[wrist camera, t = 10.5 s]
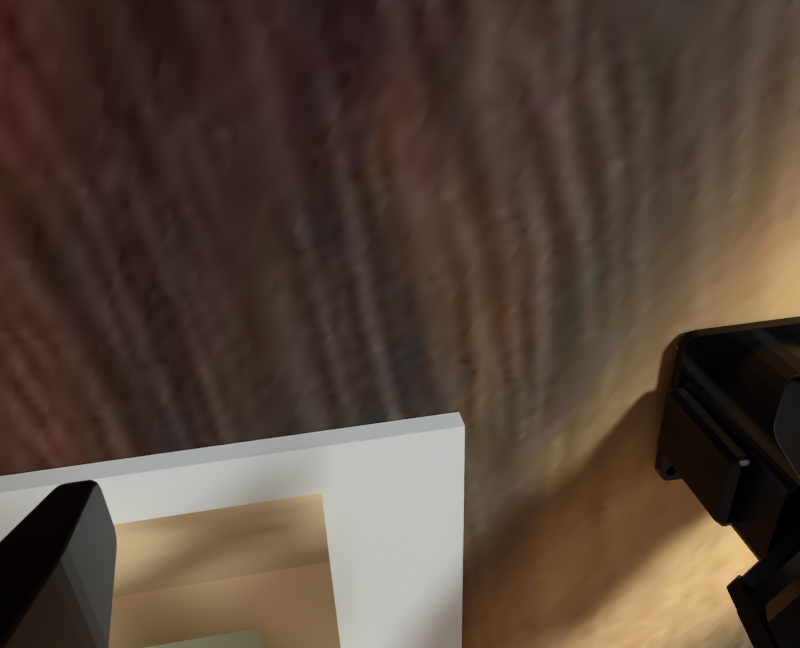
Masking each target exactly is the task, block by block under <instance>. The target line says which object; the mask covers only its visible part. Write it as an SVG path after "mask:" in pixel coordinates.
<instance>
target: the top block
mask: <svg viewBox="0 0 800 648" xmlns="http://www.w3.org/2000/svg"><path fill="white" fill-rule="evenodd" d="M145 648H264V645H263V640H262V635H261V630H260V628H254V629H249V630H243V631H237V632H231V633H226V634H220V635H214V636H208V637H203V638H197V639H191V640H185V641H180V642H174V643H168V644H162V645H157V646H151V647H145Z"/></svg>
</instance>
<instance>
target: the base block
mask: <svg viewBox="0 0 800 648" xmlns="http://www.w3.org/2000/svg"><path fill="white" fill-rule="evenodd" d="M114 527H115V531H116V538H117V552H116V564H115V576H114V588H113V600H112V612H111V625H110V637H109V648H145V647H151V646H157V645H162V644H168V643H174V642H180V641H185V640H191V639H197V638H203V637H208V636H214V635H220V634H226V633H231V632H237V631H243V630H249V629H254V628H260V630H261V635H262V640H263V645H264V648H341V645H340V637H339V629H338V621H337V613H336V605H335V597H334V589H333V580H332V572H331V564H330V556H329V548H328V540H327V532H326V524H325V516H324V508H323V500H322V493H318V494H312V495H305V496H298V497H292V498H285V499H279V500H272V501H266V502H259V503H252V504H246V505H239V506H233V507H226V508H220V509H213V510H206V511H200V512H193V513H187V514H180V515H174V516H167V517H160V518H154V519H147V520H141V521H134V522H128V523H121V524H114Z"/></svg>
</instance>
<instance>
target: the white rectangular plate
mask: <svg viewBox="0 0 800 648" xmlns="http://www.w3.org/2000/svg"><path fill="white" fill-rule="evenodd" d="M464 446H465V426H464V423H463V421H462V418H461V416H460V413H459V412H455V413H448V414H441V415H433V416H426V417H419V418H412V419H405V420H398V421H391V422H384V423H376V424H369V425H362V426H355V427H348V428H341V429H334V430H326V431H319V432H312V433H305V434H298V435H291V436H284V437H277V438H269V439H262V440H255V441H248V442H241V443H234V444H227V445H220V446H212V447H205V448H198V449H191V450H184V451H177V452H170V453H162V454H155V455H148V456H141V457H134V458H127V459H120V460H113V461H105V462H98V463H91V464H84V465H77V466H70V467H63V468H55V469H48V470H41V471H34V472H27V473H20V474H13V475H6V476H0V541H1V540H2V539H3V538H4V537H6V536H7V535H8V534H9V533H10V532H11V531H12V530H13V529H14V528H15V527H16V526H17V525H18V524H19V523H20V522H21V521H22V520H23V519H24V518H25V517H26V516H27V515H28V514H29V513H30V512H31V511H32V510H33V509H34V508H35V507H36V506H37V505H38V504H39V503H40V502H41V501H42V500H43V499H44V498H45V497H46V496H47V495H48V494H49V493H50V492H52V491H53V490H54V489H55V488H56V487H57V486H59V485H61V484H64V483H71V482H78V481H84V480H93V481H96V482H97V483H98V484H99V486H100V487H101V490H102V493H103V495H104V498H105V501H106V504H107V507H108V510H109V513H110V516H111V519H112V521H113V524H121V523H128V522H134V521H141V520H147V519H154V518H160V517H167V516H174V515H180V514H187V513H193V512H200V511H206V510H213V509H220V508H226V507H233V506H239V505H246V504H252V503H259V502H266V501H272V500H279V499H285V498H292V497H298V496H305V495H312V494H318V493H322V500H323V508H324V516H325V524H326V532H327V540H328V548H329V556H330V564H331V572H332V580H333V589H334V597H335V605H336V613H337V621H338V629H339V637H340V645H341V648H462V589H463V518H464Z"/></svg>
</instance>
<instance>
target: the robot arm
mask: <svg viewBox="0 0 800 648" xmlns="http://www.w3.org/2000/svg"><path fill="white" fill-rule="evenodd" d="M698 342H699V343H698ZM696 343H698V345H697V346H696V347H694V348H692V347H693V346H694V345H695V344H696ZM670 466H671V467H670ZM655 470H656V471H657V472H658V474H659V475H660V476H661V478H662V479H664V480H676V479H683V480H684V481H685V483H686V484H687V485H688V487H689V488H690V489H691V490H692V492H693V493H694V494H695V496H696V497H697V498H698V500H699V501H700V502H701V503H702V505H703V506H704V507H705V509H706V510H707V511H708V513H709V514H710V515H711V516H712V518H713V519H714V520H715V521H716V522H717V523H718V524H720V525H721V526H728V525H731V526H732V527H733V529H734V530H735V531H736V532H737V534H738V535H739V536H740V537H741V539H742V540H743V541H744V543H745V544H746V545H747V546H748V548H749V549H750V550H751V551H752V553H753V554H754V555H755V556H756V558H757V559H758V560H759V561H758V562H757V563H756V564H755V565H754V566H753V567H752V568H750V569H749V570H748V571H747V572H746V573H745V574H744V575H743V576H741V575H738V576H737V577H736V578H735V579H734V580H733V581H732V582H731V583H730V584H729V585H728V586H727V590H728V592H729V594H730V596H731V598H732V600H733V603H734V605H735V607H736V609H737V613H738V616H739V618H740V620H741V622H742V624H743V626H744V628H745V630H746V632H747V634H748V637H749V639H750V641H751V643H752V645H753V647H754V648H800V317H792V318H784V319H776V320H769V321H761V322H753V323H746V324H738V325H730V326H723V327H715V328H707V329H700V330H693V331H690V332H688V333H687V334H685V335H684V336H683V337H682V338H681V340H680V342H679V345H678V350H677V355H676V360H675V365H674V370H673V376H672V381H671V386H670V390H669V392H668V394H667V398H666V403H665V409H664V414H663V419H662V424H661V429H660V434H659V440H658V453H657V458H656V463H655ZM116 552H117V538H116V531H115V527H114V524H113V521H112V519H111V516H110V513H109V510H108V507H107V504H106V501H105V498H104V495H103V493H102V490H101V487H100V486H99V484H98V483H97V482H96V481H93V480H84V481H78V482H71V483H64V484H61V485H59V486H57V487H56V488H55V489H54V490H53V491H52V492H50V493H49V494H48V495H47V496H46V497H45V498H44V499H43V500H42V501H41V502H40V503H39V504H38V505H37V506H36V507H35V508H34V509H33V510H32V511H31V512H30V513H29V514H28V515H27V516H26V517H25V518H24V519H23V520H22V521H21V522H20V523H19V524H18V525H17V526H16V527H15V528H14V529H13V530H12V531H11V532H10V533H9V534H8V535H7V536H6V537H4V538H3V539H2V540H1V541H0V648H109V637H110V625H111V612H112V600H113V588H114V576H115V564H116Z"/></svg>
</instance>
